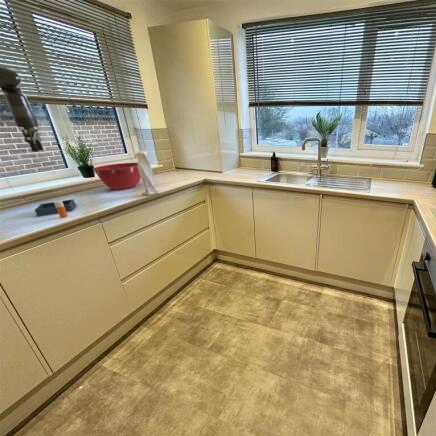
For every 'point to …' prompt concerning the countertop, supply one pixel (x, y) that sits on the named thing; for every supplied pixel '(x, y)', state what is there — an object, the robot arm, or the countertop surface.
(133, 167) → the mixing bowl
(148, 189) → the white statue
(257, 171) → the countertop surface
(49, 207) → the tote
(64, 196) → the countertop surface
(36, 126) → the robot arm
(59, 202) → the glue stick
